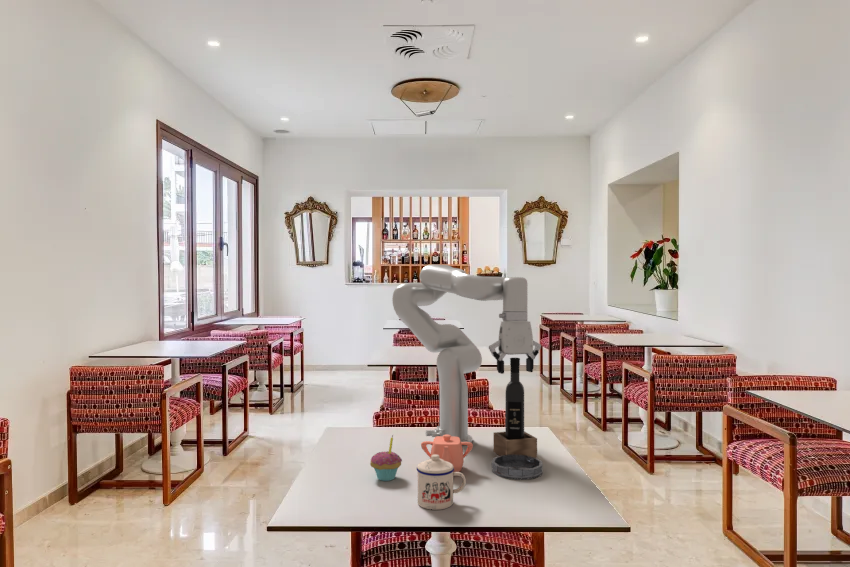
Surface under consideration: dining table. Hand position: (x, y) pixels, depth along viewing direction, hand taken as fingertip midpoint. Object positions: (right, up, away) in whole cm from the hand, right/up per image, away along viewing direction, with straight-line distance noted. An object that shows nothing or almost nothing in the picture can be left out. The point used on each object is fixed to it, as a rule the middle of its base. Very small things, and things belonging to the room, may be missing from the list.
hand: (515, 372), depth 178 cm
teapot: (-22, -26, -15) cm, 37 cm away
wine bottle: (0, -26, 0) cm, 26 cm away
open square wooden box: (0, -26, 0) cm, 26 cm away
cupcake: (-39, -26, -21) cm, 51 cm away
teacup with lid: (-24, -26, -38) cm, 52 cm away
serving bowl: (-2, -26, -15) cm, 30 cm away
